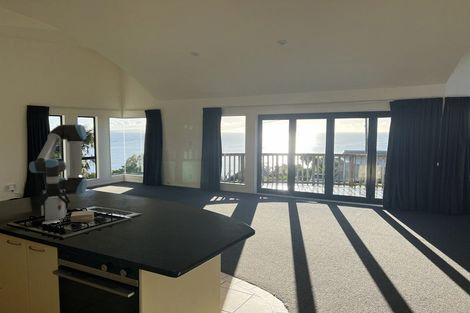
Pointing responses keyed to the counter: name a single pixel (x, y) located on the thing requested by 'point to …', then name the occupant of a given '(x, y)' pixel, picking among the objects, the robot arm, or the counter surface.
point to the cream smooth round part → (51, 221)
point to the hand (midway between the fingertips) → (54, 214)
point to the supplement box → (54, 208)
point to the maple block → (82, 216)
